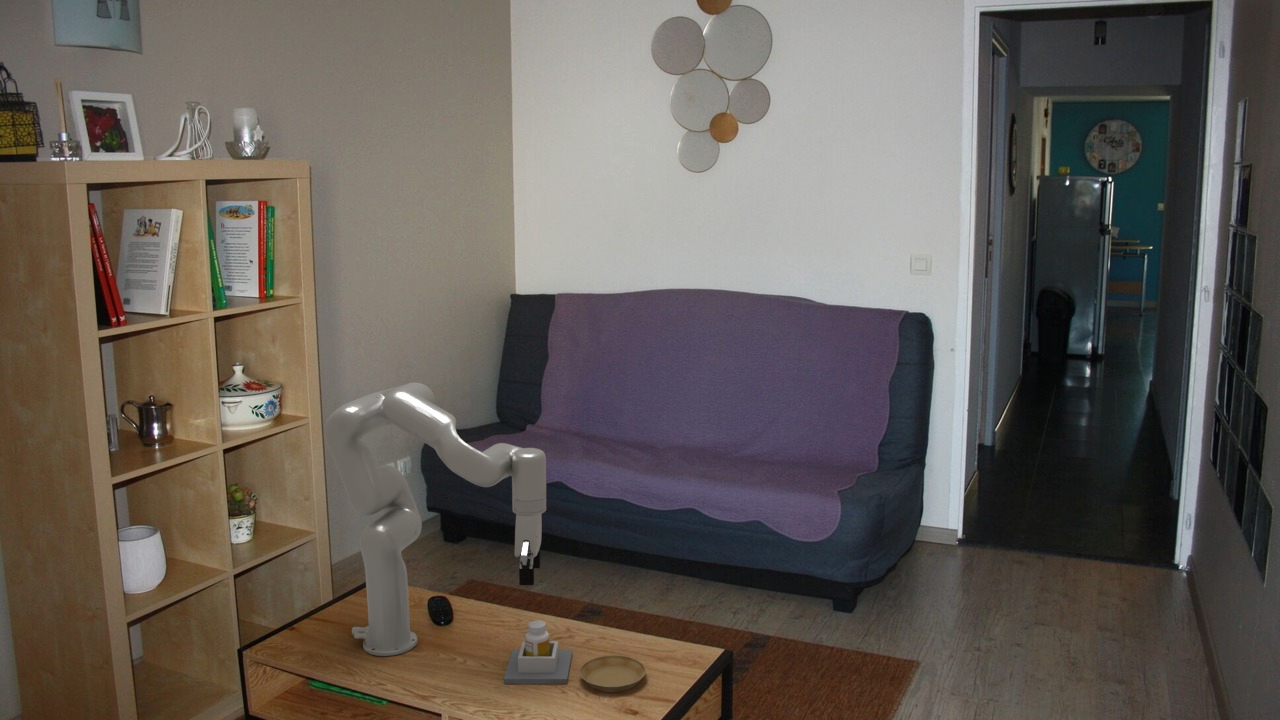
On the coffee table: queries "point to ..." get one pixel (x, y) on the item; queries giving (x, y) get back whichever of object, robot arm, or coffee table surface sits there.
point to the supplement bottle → (537, 639)
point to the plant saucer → (612, 673)
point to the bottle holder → (539, 666)
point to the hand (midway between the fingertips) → (529, 576)
